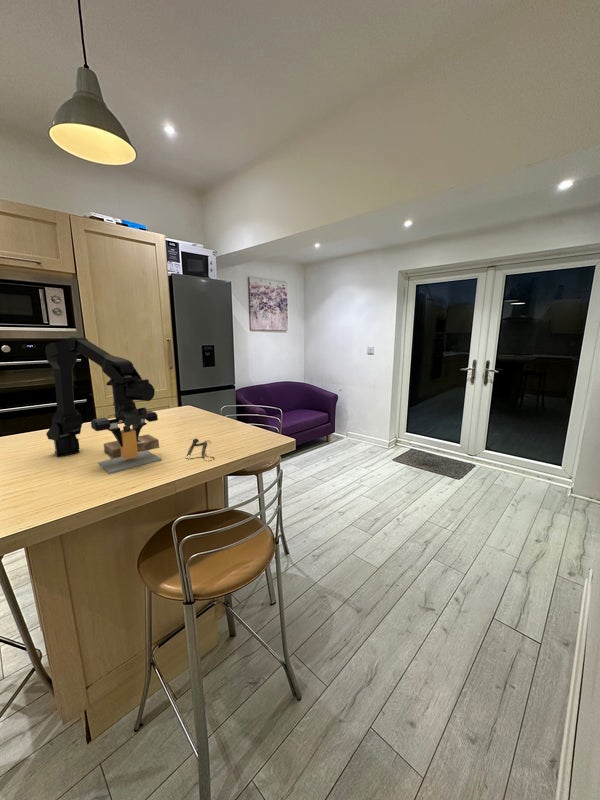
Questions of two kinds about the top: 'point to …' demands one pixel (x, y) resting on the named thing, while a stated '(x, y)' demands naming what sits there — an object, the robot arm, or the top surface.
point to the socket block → (142, 444)
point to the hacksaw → (202, 449)
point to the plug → (128, 443)
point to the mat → (128, 462)
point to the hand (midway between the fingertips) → (128, 444)
